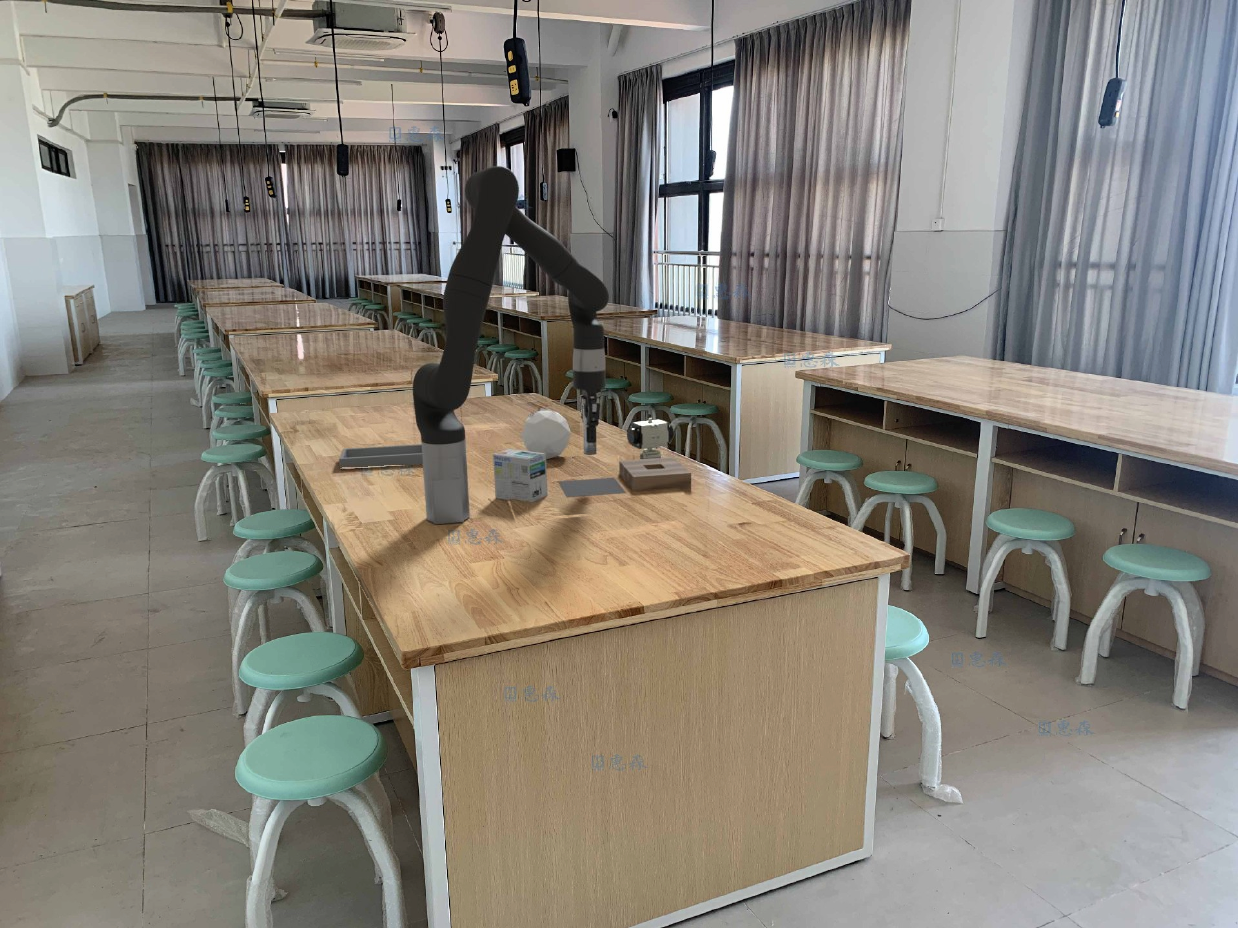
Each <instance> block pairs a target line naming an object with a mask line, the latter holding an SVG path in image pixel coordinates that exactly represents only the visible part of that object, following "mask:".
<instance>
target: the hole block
mask: <svg viewBox="0 0 1238 928" xmlns="http://www.w3.org/2000/svg"><path fill="white" fill-rule="evenodd" d="M618 467H619V469H618V470H619V473H618V474H619V475H620V477H621V478H622V479H623V481H624V482H625V483H626V484H627V485H628V487H629V488H630V489H631V490H632V491H633V492H642V491H653V490H656V491H657V490H665V489H666V490H667V489H668V490H669V489H680V491H683V490H684V491H685V490H686V491H687V490H692V472H691V471H690V470H689V469H688V468H687V467H685V466H684V465H683V464H681V463H680V462H679V461H678V460H677V459H676V458H674V457H673V456H672V457H661V458H655V459H640V458H639V459H626V460H619V461H618Z"/></svg>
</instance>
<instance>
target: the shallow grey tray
mask: <svg viewBox="0 0 1238 928" xmlns="http://www.w3.org/2000/svg"><path fill="white" fill-rule="evenodd" d="M338 460H339V469H340V468H342V467H368V466H384V465H413V466H421V465H420V464H423V459H422V444H421V443H419V444H416V443H415V444H403V445H401V444H400V445H388V446H387V445H386V446H368V447H367V446H366V447H351V448H350V447H348V448H342V450H341V453H340V456H339V457H338Z"/></svg>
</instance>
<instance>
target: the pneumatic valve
mask: <svg viewBox="0 0 1238 928" xmlns="http://www.w3.org/2000/svg"><path fill="white" fill-rule="evenodd" d="M630 423H631V424H630V427H629V428H628V429H627V431H626V437H627V439H626V440H627V441H628V444H629V445H631V446H632V447H634V448H636V449H638V450H641V453H640V454H639V459H655V458H662V454H661V451H660V450H659V449H658V448H660V447H666V446H668V447H669V446H670V443H671V440H673V439H674V434H675V433H674V428H673V425H672V424H671V423H670V422H669V421H667V420H664V419H653V418H652V417H649V418H648V420H646V421H645V420H643V421H636V422H630ZM657 449H658V450H657Z"/></svg>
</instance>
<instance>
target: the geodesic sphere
mask: <svg viewBox="0 0 1238 928" xmlns="http://www.w3.org/2000/svg"><path fill="white" fill-rule="evenodd" d="M571 434H572V433H571V429H570V425H569V424H568V420H567V419H566V418H565V417H564V416H562V415H561V414H560V413H559V412H557V411H553V410H552V409H548V408H543V407H540V410H539V411H534V412H532V411H531V412H530V414H529V415H528V418H527V419H526V420H525V421H524V425H523V427H522V430H521V433H520V438H521V439H522V442H523V445H524V447H525V450H526V451H530V452H539V453H546V460H549V459H552V458H556V457H558V456H561V455H562V453H563V452H564V451H565V449H566V448H567V446H568V445H569V441H570V438H571Z"/></svg>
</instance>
